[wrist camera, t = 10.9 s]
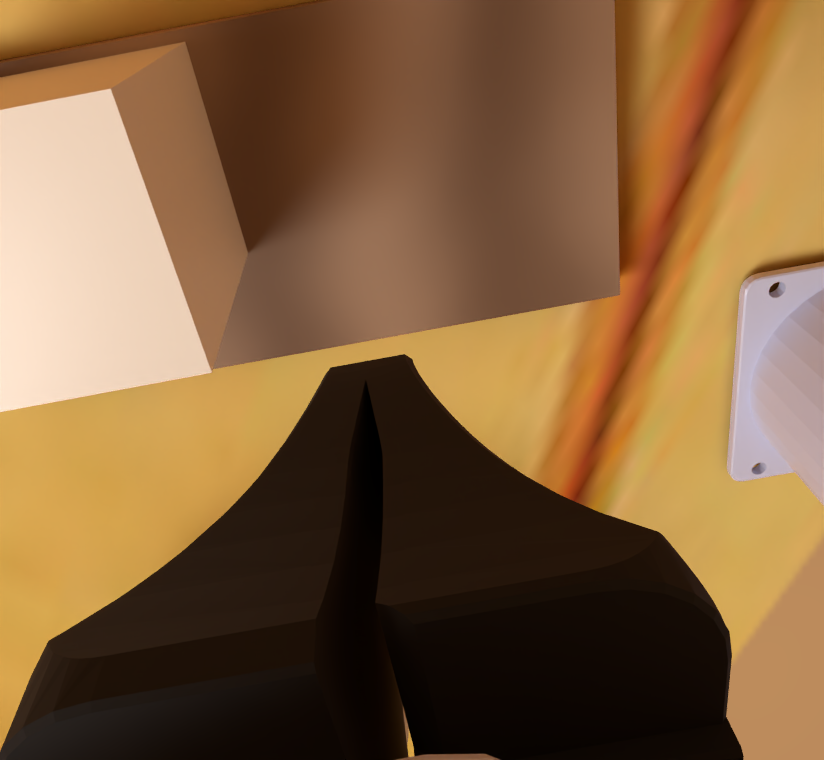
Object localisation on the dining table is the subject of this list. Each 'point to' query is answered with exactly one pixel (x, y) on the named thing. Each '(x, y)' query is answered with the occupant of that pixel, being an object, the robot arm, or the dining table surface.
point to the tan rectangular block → (111, 228)
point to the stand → (404, 161)
